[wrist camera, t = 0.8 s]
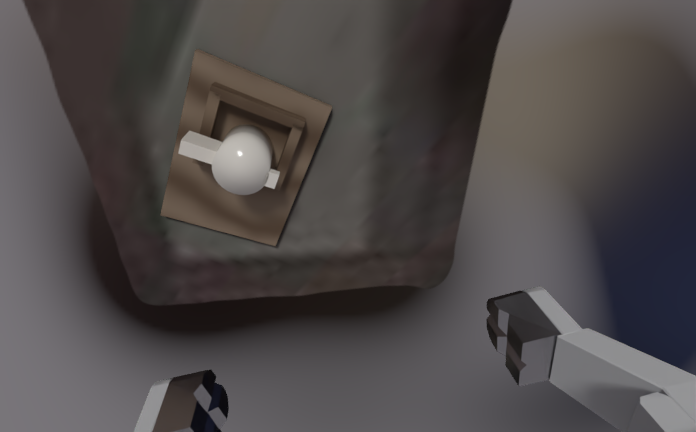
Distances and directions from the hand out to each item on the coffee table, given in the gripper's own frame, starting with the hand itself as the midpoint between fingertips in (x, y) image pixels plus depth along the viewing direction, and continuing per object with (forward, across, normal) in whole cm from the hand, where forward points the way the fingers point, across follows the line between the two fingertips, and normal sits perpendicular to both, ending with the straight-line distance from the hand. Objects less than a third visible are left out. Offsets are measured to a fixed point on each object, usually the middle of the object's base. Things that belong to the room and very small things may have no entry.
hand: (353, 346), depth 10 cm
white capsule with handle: (+36, +10, +3) cm, 38 cm away
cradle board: (+37, +10, +5) cm, 39 cm away
